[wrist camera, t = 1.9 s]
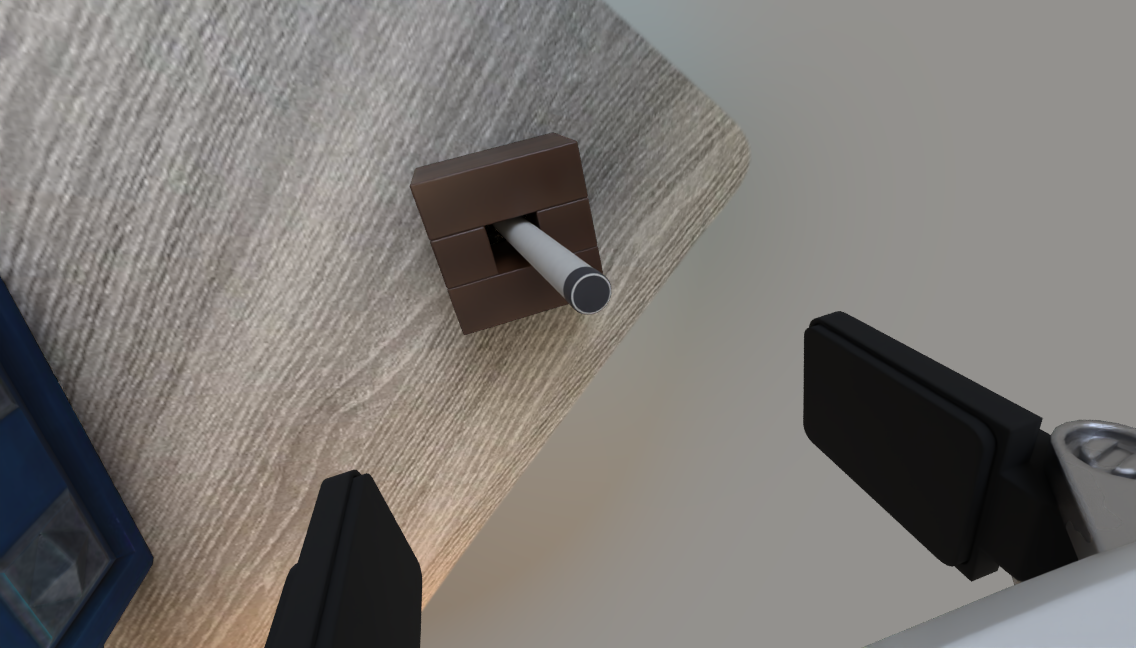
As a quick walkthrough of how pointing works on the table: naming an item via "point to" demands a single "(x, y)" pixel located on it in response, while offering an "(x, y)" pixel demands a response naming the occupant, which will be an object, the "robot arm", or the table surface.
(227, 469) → the table surface
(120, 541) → the book
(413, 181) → the pen stand
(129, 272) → the table surface
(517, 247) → the stylus
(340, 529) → the robot arm
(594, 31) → the table surface
